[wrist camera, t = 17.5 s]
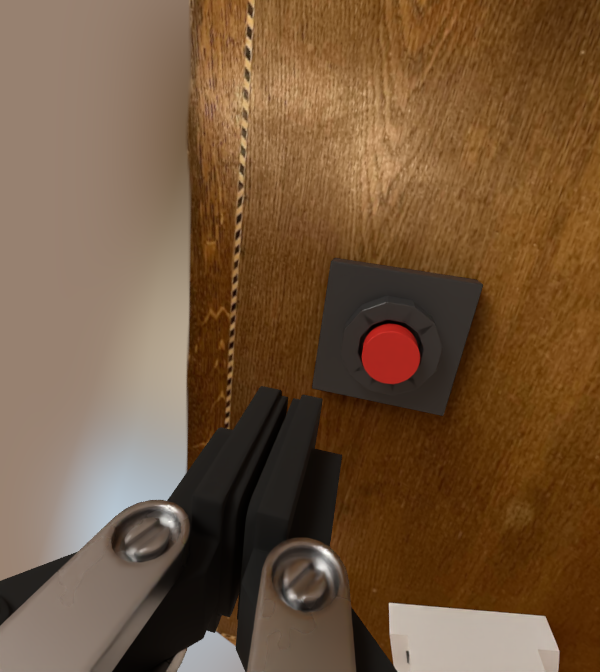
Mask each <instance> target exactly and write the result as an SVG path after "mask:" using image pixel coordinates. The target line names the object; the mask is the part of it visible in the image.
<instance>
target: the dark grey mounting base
mask: <svg viewBox="0 0 600 672" xmlns="http://www.w3.org/2000/svg"><path fill="white" fill-rule="evenodd" d="M482 287H483V284H482V283H480V282H479V281H478V280H475V279H469V278H462V277H456V276H449V275H443V274H436V273H430V272H423V271H417V270H410V269H404V268H397V267H391V266H384V265H378V264H371V263H365V262H358V261H352V260H345V259H339V258H334V259H333V260H332V261H331V266H330V272H329V279H328V285H327V292H326V299H325V305H324V312H323V318H322V325H321V332H320V338H319V345H318V352H317V358H316V365H315V371H314V378H313V385H312V388H313V389H318V390H323V391H327V392H332V393H337V394H342V395H346V396H351V397H356V398H361V399H365V400H370V401H375V402H380V403H384V404H389V405H394V406H399V407H403V408H408V409H413V410H418V411H422V412H427V413H432V414H437V415H441V416H443V415H444V412H445V409H446V405H447V402H448V399H449V396H450V392H451V389H452V386H453V382H454V379H455V376H456V373H457V369H458V366H459V363H460V359H461V356H462V353H463V350H464V346H465V343H466V340H467V336H468V333H469V330H470V327H471V323H472V320H473V317H474V314H475V310H476V307H477V304H478V300H479V297H480V294H481V291H482ZM383 324H398V325H401V326H403V327H405V328H407V329H408V330H409V331H410V332H411V333H412V334H413V335H414V337H415V339H416V341H417V345H418V349H419V352H420V363H419V366H418V369H417V370H416V372H415V373H414V374H413V375H412V376H411V377H410V378H409V379H407V380H405V381H403V382H400V383H396V384H386V383H382V382H379V381H377V380H375V379H374V378H372V377H371V376H370V375H369V374H368V373H367V372H366V370H365V368H364V366H363V363H362V351H363V344H364V340H365V338H366V336H367V335H368V333H369V332H370V331H371V330H373V329H374V328H376V327H377V326H380V325H383Z"/></svg>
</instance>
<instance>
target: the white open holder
mask: <svg viewBox="0 0 600 672" xmlns="http://www.w3.org/2000/svg"><path fill="white" fill-rule="evenodd" d="M389 630H390V641H391V648H392V656H393V663H394V667H395V669H396V670H397V672H558V668H559V652H560V651H559V649H558V646H557V644H556V641H555V639H554V636H553V634H552V631H551V629H550V626H549V624H548V621H547V619H546V616H538V615H526V614H514V613H502V612H491V611H479V610H467V609H456V608H444V607H432V606H421V605H409V604H397V603H389Z"/></svg>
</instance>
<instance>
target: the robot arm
mask: <svg viewBox="0 0 600 672" xmlns="http://www.w3.org/2000/svg"><path fill="white" fill-rule="evenodd" d="M287 404H288V397H285V396H282V391H281V390H278V389H273V388H268V387H263V386H261V387H260V388H259V390H258V391H257V393H256V394H255V396H254V398H253V399H252V401H251V402H250V404H249V406H248V407H247V409H246V410H245V412H244V413H243V415H242V417H241V418H240V420H239V421H238V423H237V425H236V426H235V428H234V429H233V430H230V429H225V428H219V429H218V430H217V431H216V432H215V433H214V435H213V436H212V438H211V439H210V440H209V442H208V443H207V445H206V446H205V448H204V449H203V450H202V452H201V453H200V455H199V456H198V458H197V459H196V460H195V462H194V463H193V465H192V466H191V468H190V469H189V470H188V472H187V473H186V475H185V476H184V478H183V479H182V480H181V482H180V483H179V485H178V486H177V488H176V489H175V490H174V492H173V493H172V495H171V496H170V498H169V499H168V500H167V501H164V500H149V501H145V502H140V503H137V504H135V505H133V506H131V507H128V508H126V509H125V510H123V511H122V512H121V513H119V514H118V515H117V516H115V517H114V518H113V519H112V520H111V521H110V522H109V523H108V524H107V525H106V526H105V527H104V528H103V529H101V530H100V531H99V532H98V533H97V535H95V536H94V537H93V538H92V539H91V540H90V541H89V542H88V543H87V544H86V545H85V546H84V547H83V548H82V549H80V551H78V552H76V553H73V554H71V555H68V556H65V557H63V558H60V559H57V560H55V561H52V562H49V563H47V564H44V565H42V566H39V567H36V568H33V569H31V570H28V571H25V572H23V573H20V574H18V575H15V576H12V577H10V578H7V579H4V580H2V581H0V672H177V670H178V668H179V666H180V665H181V663H182V660H183V658H184V656H185V653H186V651H187V648H188V647H189V646H191V645H193V644H194V643H196V642H198V641H199V640H201V639H203V638H204V635H205V633H206V630H207V631H210V632H214V633H215V632H216V629H217V626H218V624H219V621H220V618H221V616H222V615H224V616H227V617H230V616H231V614H232V611H233V609H234V606H235V603H236V600H237V598H238V595H239V602H238V613H237V619H238V628H237V639H236V650H237V653H238V655H239V658H240V660H241V662H242V665H243V667H244V669H245V672H397V670H396V669H395V667H394V666H393V665H392V663H391V662H390V660H389V659H388V658H387V656H386V655H385V653H384V652H383V651H382V649H381V648H380V646H379V645H378V644H377V642H376V641H375V639H374V638H373V637H372V635H371V634H370V633H369V631H368V630H367V628H366V627H365V626H364V624H363V623H362V621H361V620H360V619H359V617H358V616H357V614H356V613H355V612H354V610H353V609H352V607H351V601H350V589H349V580H348V575H347V571H346V568H345V566H344V564H343V562H342V561H341V559H340V557H339V556H338V555H337V554H336V553H335V552H334V551H333V550H332V549H331V548H330V541H331V533H332V526H333V519H334V511H335V504H336V497H337V489H338V482H339V474H340V467H341V460H342V455H340V454H336V453H331V452H327V451H323V450H318V449H315V443H316V437H317V431H318V425H319V419H320V413H321V407H322V399H321V398H317V397H312V396H307V395H302V397H301V399H300V400H299V399H295V398H294V399H293V400H292V403H291V405H290V407H289V410H288V412H287ZM286 412H287V415H286Z"/></svg>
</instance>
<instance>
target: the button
mask: <svg viewBox="0 0 600 672" xmlns="http://www.w3.org/2000/svg"><path fill="white" fill-rule="evenodd" d="M362 363H363V366H364V368H365V370H366V372H367V373H368V374H369V375H370V376H371V377H372V378H374V379H375V380H377V381H379V382H382V383H386V384H396V383H400V382H403V381H405V380H407V379H409V378H410V377H411V376H412V375H413V374H414V373H415V372H416V370H417V369H418V366H419V363H420V352H419V349H418V345H417V341H416V339H415V337H414V335H413V334H412V333H411V332H410V331H409V330H408V329H407V328H405V327H403V326H401V325H398V324H383V325H380V326H377V327H376V328H374V329H373V330H371V331H370V332H369V333H368V335H367V336H366V338H365V340H364V344H363V351H362Z"/></svg>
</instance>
